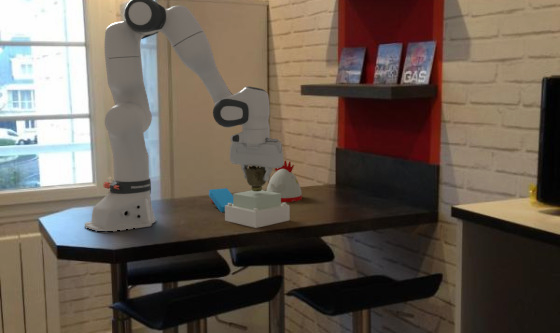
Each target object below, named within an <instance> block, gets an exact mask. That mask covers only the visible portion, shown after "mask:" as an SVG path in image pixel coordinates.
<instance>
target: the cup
mask: <svg viewBox="0 0 560 333" xmlns="http://www.w3.org/2000/svg"><path fill="white" fill-rule="evenodd" d="M245 171H246V178H247V179H246V183H247V184H248V185H249V186H251V188H250V189H251V190H250V191H261V190H263V186H264V185H266V183H267V181H263V175H265V173H266V171H265V167H258V166H249V165H248V168H247V167H245Z"/></svg>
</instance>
